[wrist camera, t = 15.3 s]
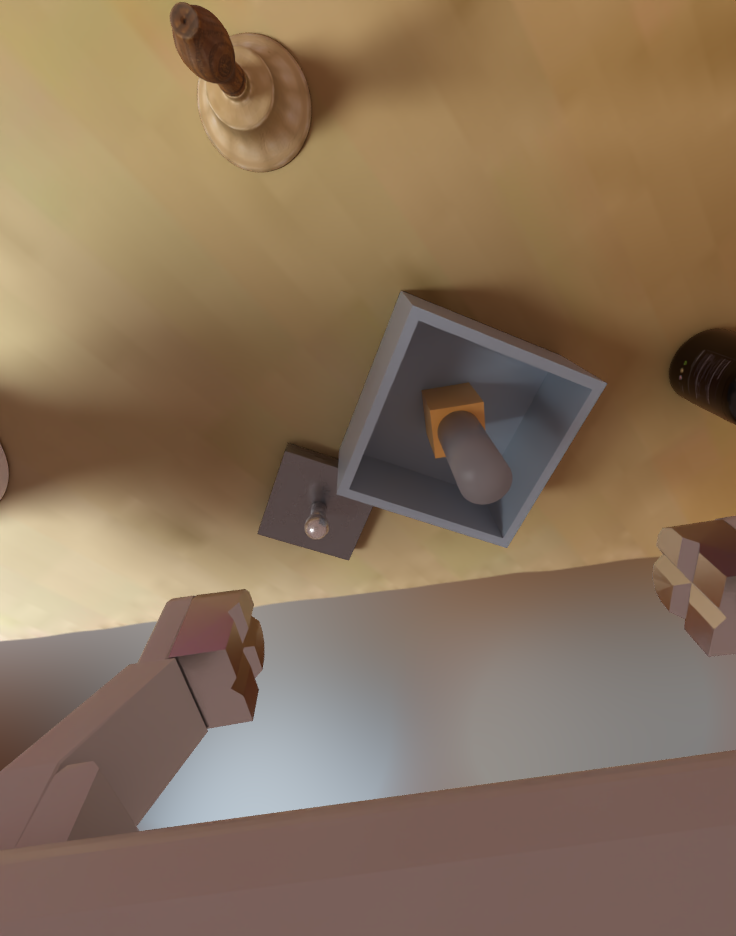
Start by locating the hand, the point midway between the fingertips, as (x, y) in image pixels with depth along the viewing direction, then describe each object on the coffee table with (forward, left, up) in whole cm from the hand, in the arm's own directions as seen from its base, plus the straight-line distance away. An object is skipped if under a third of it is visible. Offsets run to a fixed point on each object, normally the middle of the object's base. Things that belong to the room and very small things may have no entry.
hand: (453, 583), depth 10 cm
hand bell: (-14, +10, -37) cm, 40 cm away
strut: (+9, -6, -35) cm, 37 cm away
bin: (+9, -6, -36) cm, 38 cm away
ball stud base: (+1, -20, -36) cm, 41 cm away
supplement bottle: (+30, +6, -37) cm, 48 cm away
